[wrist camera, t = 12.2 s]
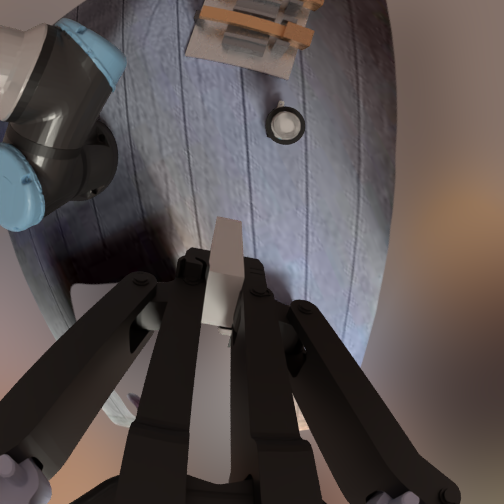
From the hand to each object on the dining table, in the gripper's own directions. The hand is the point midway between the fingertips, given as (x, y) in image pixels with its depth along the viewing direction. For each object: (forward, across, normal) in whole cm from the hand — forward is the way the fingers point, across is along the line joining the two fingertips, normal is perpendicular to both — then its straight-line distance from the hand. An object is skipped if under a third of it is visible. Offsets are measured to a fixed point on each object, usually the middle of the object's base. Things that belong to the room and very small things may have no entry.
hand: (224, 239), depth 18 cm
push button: (+32, +6, +9) cm, 33 cm away
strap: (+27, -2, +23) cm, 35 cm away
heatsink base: (+32, -3, +27) cm, 42 cm away
